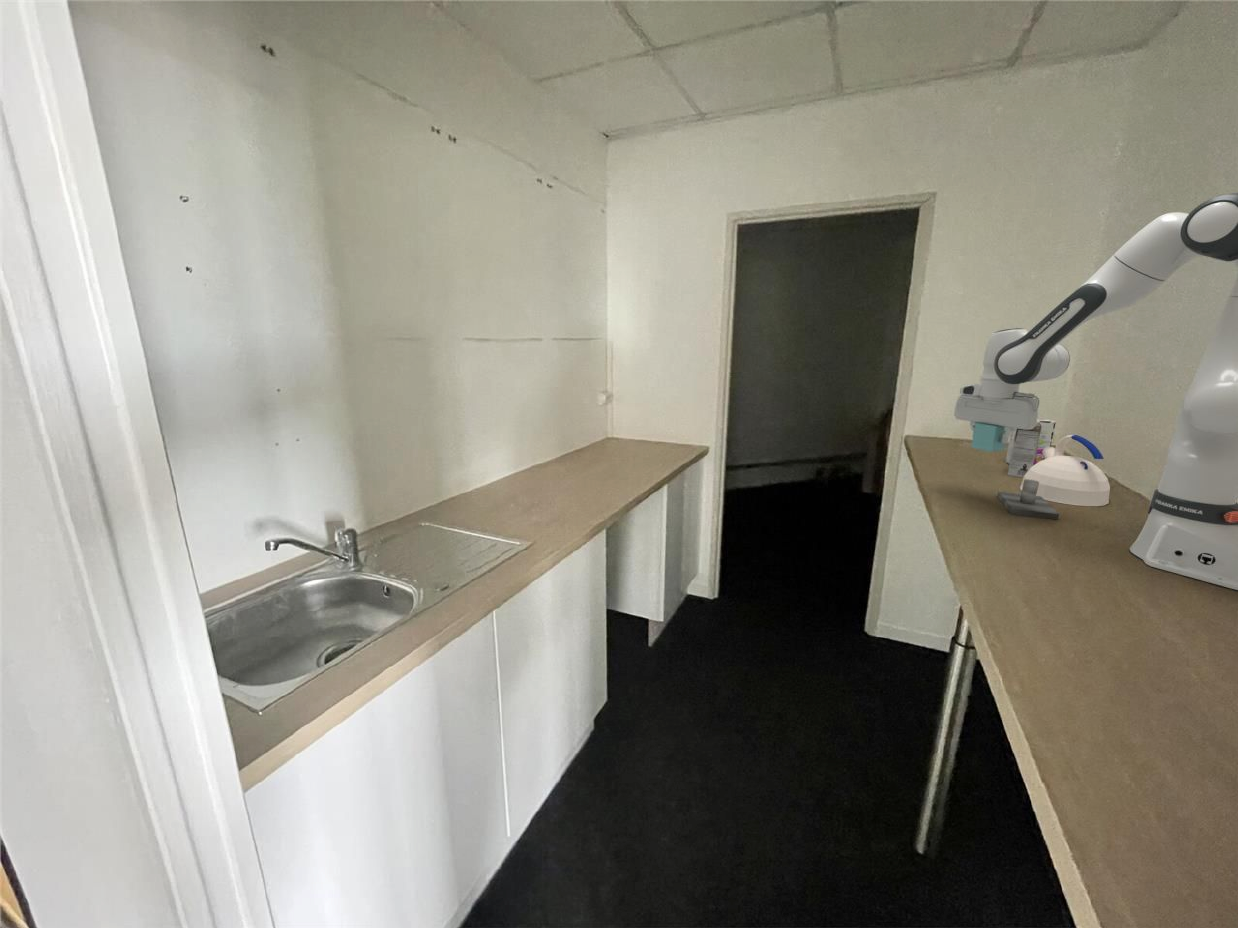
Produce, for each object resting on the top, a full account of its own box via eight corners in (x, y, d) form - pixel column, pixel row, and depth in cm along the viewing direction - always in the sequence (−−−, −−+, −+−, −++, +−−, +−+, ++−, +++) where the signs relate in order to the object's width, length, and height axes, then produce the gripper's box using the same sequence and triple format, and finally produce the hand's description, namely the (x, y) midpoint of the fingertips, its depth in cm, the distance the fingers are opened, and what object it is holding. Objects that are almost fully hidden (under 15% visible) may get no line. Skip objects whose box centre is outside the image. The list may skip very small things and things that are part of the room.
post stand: (997, 496, 151) (1002, 471, 149) (1039, 501, 147) (1045, 475, 145) (1010, 513, 137) (1016, 486, 135) (1058, 519, 133) (1064, 491, 131)
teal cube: (1004, 450, 144) (1009, 425, 142) (991, 451, 142) (996, 426, 140) (984, 446, 149) (988, 421, 147) (971, 447, 147) (975, 423, 145)
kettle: (1073, 486, 162) (1087, 429, 157) (1129, 508, 142) (1147, 444, 138) (1003, 483, 164) (1015, 427, 159) (1049, 505, 144) (1064, 442, 139)
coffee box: (1007, 469, 180) (1017, 423, 176) (1031, 472, 176) (1041, 426, 172) (1006, 475, 173) (1016, 427, 169) (1031, 478, 169) (1041, 430, 165)
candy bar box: (1040, 464, 187) (1050, 419, 183) (1046, 467, 182) (1057, 421, 178) (1004, 461, 190) (1013, 417, 186) (1009, 465, 186) (1018, 419, 181)
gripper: (1048, 393, 133) (1037, 446, 137) (969, 386, 151) (961, 433, 155) (1032, 395, 131) (1022, 448, 134) (954, 387, 149) (947, 434, 153)
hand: (989, 440), depth 145 cm, fingers closed on teal cube, 6 cm apart
